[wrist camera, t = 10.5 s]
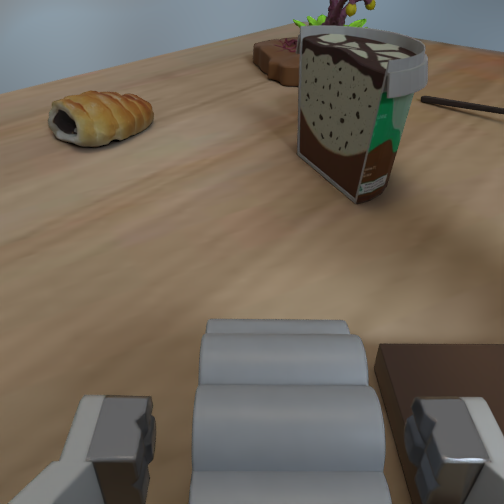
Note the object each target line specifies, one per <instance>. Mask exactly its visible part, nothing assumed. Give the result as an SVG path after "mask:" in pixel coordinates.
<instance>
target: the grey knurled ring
mask: <svg viewBox="0 0 504 504" xmlns="http://www.w3.org/2000/svg"><path fill="white" fill-rule="evenodd" d="M384 463H385V428H384V421H383V415H382V410H381V406H380V402H379V399H378V397H377V394H376V392H375V390H374V389H373V388H372V387H370V386H368V365H367V358H366V353H365V349H364V346H363V343H362V340H361V338H360V337H359V336H357V335H355V334H350V331H349V328H348V325H347V323H346V322H345V321H343V320H298V319H209V320H208V322H207V325H206V334H204V335H203V337H202V340H201V347H200V358H199V384H198V387H197V390H196V394H195V401H194V410H193V424H192V476H191V483H190V493H189V504H392V500H391V496H390V491H389V487H388V484H387V481H386V478H385V476H384V473H383V468H384Z"/></svg>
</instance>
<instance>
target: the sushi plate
mask: <svg viewBox="0 0 504 504" xmlns="http://www.w3.org/2000/svg"><path fill="white" fill-rule="evenodd" d="M421 101H422V102H426V103H433V104H439V105H446V106H452V107H459V108H465V109H472V110H479V111H485V112H492V113H499V114H504V108H498V107H492V106H486V105H480V104H474V103H468V102H461V101H455V100H449V99H443V98H437V97H430V96H422V97H421Z"/></svg>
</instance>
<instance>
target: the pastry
mask: <svg viewBox="0 0 504 504" xmlns="http://www.w3.org/2000/svg"><path fill="white" fill-rule="evenodd" d="M153 119H154V113H153V111H152V106H151V104H150V103H149V102H147V101H145V100H143V99H142V98H140V97H138V96H137V95H134V94H124V95H120V94H119V93H117V92H100V93H99V92H97V91H88V92H84V93H82V94H81V95H71V96H67V97H64V99H60V100H56V101H54V102H52V108H51V110H50V112H49V119H48V124H49V128H50V129H51V130H52V131H53V132H54V134H55V136H56V138H57V139H60V140H62V141H64V142H72V143H74V144H77V145H79V146H84V147H87V146H90V147H98V146H101V145H106V144H109V142H110V141H112V140H114V139H118V140H123V139H126V138H128V137H129V136H130V135H134V136H135V134H136V133H138V132H139V133H140V132H141V131H143V130H145V129H146V128H147V127H148V126H149V125H150V124H151V122H152V121H153Z"/></svg>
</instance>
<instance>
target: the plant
mask: <svg viewBox="0 0 504 504" xmlns="http://www.w3.org/2000/svg"><path fill="white" fill-rule="evenodd" d="M346 1H347V0H339V3H338V0H330V6H329V8H328V11H329V12H328V17H326V16H324V15H320V16H319V17H318V19H317V21H316V20H315V19H313V18H312V17H310V16H308V17H307V20H308V21H309V26H319V25H326V26H349V27H361V28H362V26H363V25H364V24H365V23H366V19H362V20H357V21H355V22H353V23H351V24H350V25H345V18H346V16H347V15H348V16H349V17H350V16H352V15H354V14H355V13H356V2H358V1H361V0H349V3H348V4H347V5H346V6H345V7H344V8H343V5H344V4H345V2H346ZM363 1H364V2H365V7H366V9H368V10H373V9H374V7H375V0H363ZM342 8H343V9H342ZM293 21H294V23H295V24H296V26H299V28H300V27H301V26H306V25H305V24H304V23H302V22H300V21H297V20H294V19H293ZM365 28H367V27H365ZM297 40H298V37H293V38H282V39H279V40H278V39H277V38H276V39H274V40H268V41H264V42H259V43H255V44H254V50H253V62H254V63H255V64H256V65H258V66H259V67H260V69H261V70H262V71H263V72H265V73H266V74H268V78H269V79H272V80H277V81H279V82H280V83H281V84H282V85H285V86H299V54H296V47H297Z"/></svg>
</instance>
